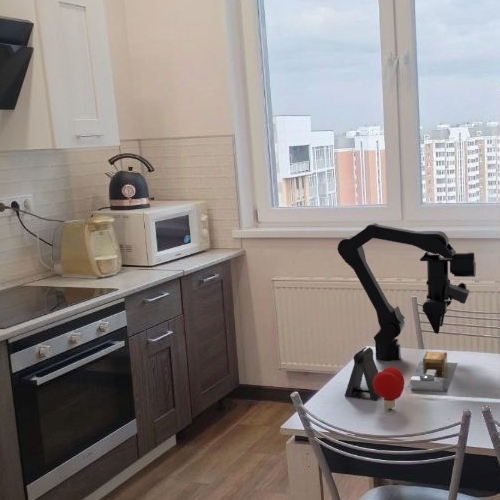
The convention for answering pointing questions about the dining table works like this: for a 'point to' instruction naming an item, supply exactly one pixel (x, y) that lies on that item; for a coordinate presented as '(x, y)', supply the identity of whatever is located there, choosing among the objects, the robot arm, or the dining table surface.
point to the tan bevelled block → (435, 360)
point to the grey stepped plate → (432, 378)
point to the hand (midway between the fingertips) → (438, 329)
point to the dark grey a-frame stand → (366, 366)
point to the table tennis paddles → (389, 386)
